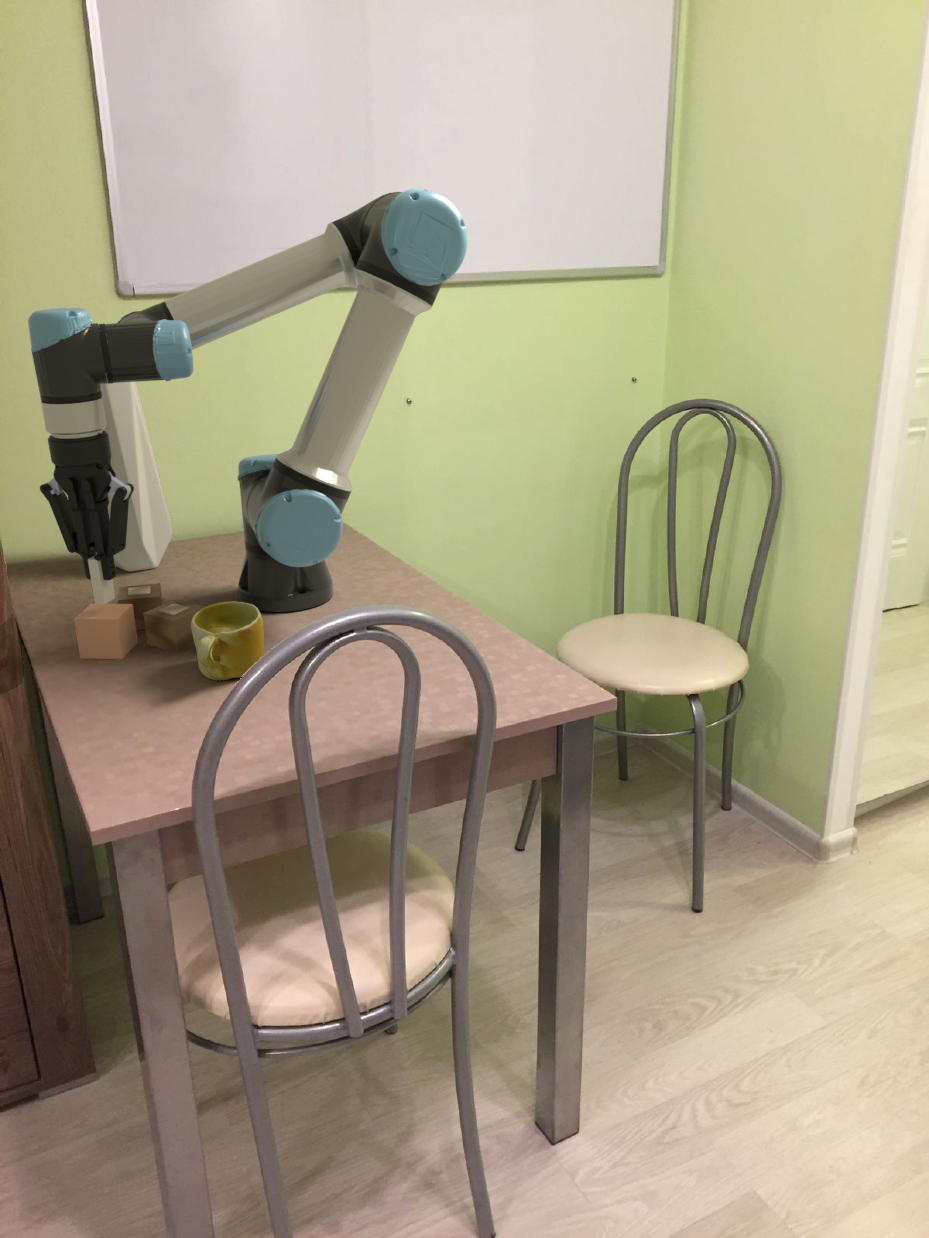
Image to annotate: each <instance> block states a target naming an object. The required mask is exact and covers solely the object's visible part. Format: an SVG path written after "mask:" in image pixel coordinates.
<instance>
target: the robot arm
mask: <svg viewBox="0 0 929 1238" xmlns="http://www.w3.org/2000/svg"><path fill="white" fill-rule="evenodd" d="M467 249H468V232H467V226H466V224H465V220H464V219H463V216H462V214H461V213H460V210H458V208H457V206H456V205H454V203H453V202H452V201H450V200H449V199H448V198H447V197H446V196H443V195H441V194H439V193H437V192H433V191H430V190H427V189H425V188H424V189H422V188H410V189H407V190H404V191H395V192H388V193H386V194H382V195H381V196H379V197H376V198H375V199H373V200H372V201H369V202H368V203H366V204H365V205H363V206H361V207H360V208H358V209H356V210H354V211H352V212H351V213H349V214H347V215H344V216H342V217H341V218H340V217H339V218H338V219H335V220H334V221H331V222H329V223H328V224H327V225H326V228H325V231H324V232H323V233H322V234H320V235H318V236H315V237H312V238H311V239H307V240H306V241H304V242H301V243H298V244H296V245H294V246H291V247H289V248H286V249H285V250H282V251H280V252H278V253H275V254H273V255H270V256H267V257H265V258H263V259H261V260H259V261H256V262H253V263H251V264H249V265H247V266H245V267H241V268H238V269H237V270H235V271H232V272H229V273H227V274H226V275H222V276H220V277H218V278H216V279H213V280H211V281H208V282H206V283H204V284H201V285H199V286H197V287H194V288H192V289H190V290H187V291H184V292H182V293H180V294H177V295H176V296H173V297H171V298H169V299H165V300H164V301H163V302H160V303H157V304H155V305H152V306H150V307H147V308H145V309H142V310H134V311H131V312H129V313H127V314H125V315H123V316H121V318H120V319H119V321H117V322H113V323H98V322H97V323H95V322H93V319H92V318H91V315H90V312H89V310H87V309H85V308H83V307H80V308H79V307H72V308H67V307H66V308H65V307H64V308H47V309H40V310H35V311H33V312H32V313H31V314H30V316H29V317H28V320H27V324H28V331H29V339H30V346H31V347H30V350H31V355H32V360H33V365H34V370H35V375H36V380H37V386H38V391H39V395H40V400H41V401H40V404H41V409H42V417H43V422H44V428H45V432H47V433H48V434H50V435H49V436H48V438H47V443H48V448H49V454H50V460H51V462H52V464H53V465H54V471H53V473H52V474H53V475H52V476H53V478H52V479H50V480H49V481H48V482H45V483H43V484H41V485H40V486H39V491H40V493H41V494H42V495H43V496H44V497H45V499H46V500H47V501H48V503H49V506H50V509H51V511H52V513H53V516H54V518H55V521H56V523H57V526H58V529H59V531H60V534H61V536H62V539H63V542H64V544H65V547H66V548H67V551H68V553H71V554H74V553H75V554H77V555H79V556H80V557H81V558H82V560H83V561H82V562H83V567H84V573H85V577H86V579H88V580H90V582H91V586H92V587H91V588H92V593H93V597H94V598H93V599H94V603H95V604H104V605H105V604H109V602H111V601H113V600H114V599H116V595H115V587H114V586H115V585H114V581H113V579H114V578H116V576H117V571H116V566H115V563H114V555H115V554H117V553H119V552H120V551H122V550H124V549H125V547H126V534H127V520H128V507H129V499H130V497H131V495H132V493H133V491H134V486H133V485H132V484H130V483H128V484H124V483H123V482H121V481H120V480H118V479H117V478H116V474H115V472H114V470H113V469H112V466H111V449H110V442H109V436H108V433H106V431H104V430H102V429H104V428H105V427H106V418H105V412H104V405H103V398H102V391H101V384H107V382H108V384H112V383H119V382H136V383H139V382H153V381H154V382H155V381H165V382H171V381H172V380H179V379H186V378H189V377H191V376H192V374H193V372H194V358H193V350H195V349H198V348H200V347H202V346H204V345H207V344H210V343H212V342H214V341H217V340H219V339H221V338H224V337H227V336H229V335H230V334H233V333H236V332H237V331H240V330H243V329H245V328H247V327H250V326H252V325H254V324H257V323H259V322H261V321H263V320H266V319H268V318H270V317H273V316H276V315H278V314H280V313H282V312H285V311H287V310H290V309H292V308H294V307H296V306H299V305H301V304H303V303H306V302H309V301H311V300H312V299H315V298H318V297H320V296H322V295H325V294H327V293H330V292H332V291H333V290H337V289H338V288H341V287H344V286H348V287H350V288H351V289H352V288H353V289H357V288H358V290H357V293H356V295H355V297H354V299H353V302H352V304H351V306H350V308H349V311H348V314H347V316H346V318H345V321H344V323H343V326H342V328H341V330H340V333H339V336H338V338H337V341H336V343H335V344H334V346H333V350H332V352H331V354H330V357H329V358H328V361H327V364H326V366H325V368H324V370H323V373H322V375H321V378H320V380H319V382H318V385H317V387H316V390H315V392H314V395H313V397H312V399H311V401H310V403H309V405H308V408H307V411H306V414H305V416H304V418H303V421H302V424H301V425H300V427H299V430H298V433H297V435H296V437H295V440H294V442H293V445H292V447H290V448H289V449H288V450H285V451H283V452H280V453H272V454H262V455H254V456H249V457H245V458H243V459H241V460H240V461H239V462H238V468H237V469H238V475H237V481H239V489H240V490H239V491H240V493H239V494H240V503H241V514H242V515H241V516H242V527H243V536H244V537H243V538H244V548H245V555H244V559H243V564H242V567H241V571H240V575H239V579H238V584H237V593H238V594H237V597H238V602H244V603H249V604H252V605H254V606H256V607H257V608H258V610H259V612H260V611H261V612H267V613H270V612H272V613H278V612H279V613H286V612H287V613H288V612H297V611H303V610H307V609H311V608H315V607H318V606H320V605H322V604H324V603H327V602H328V601H329V600H330V599H332V598H333V595H334V584H333V583H334V581H333V578H332V575H331V573H330V570H329V567H328V565H327V564H326V559H327V558H328V557H330V555H332V554H333V552H335V550H336V549H337V548H338V546H339V544H340V542H341V540H342V539H341V538H342V536H343V531H344V530H343V529H344V527H343V526H344V521H343V515H342V514H343V511H344V510H345V508H346V505H347V502H348V500H349V498H350V495H351V493H352V490H353V485H352V482H351V480H350V477H349V471H350V469H351V467H352V464H353V463H354V460H355V457H356V455H357V452H358V450H359V448H360V446H361V443H362V441H363V439H364V437H365V434H366V433H367V430H368V428H369V425H370V423H371V420H372V418H373V416H374V414H375V411H376V409H377V406H378V405H379V402H380V400H381V398H382V396H383V393H384V391H385V389H386V386H387V384H388V381H389V379H390V376H391V374H392V373H393V370H394V367H395V365H396V363H397V361H398V359H399V356H400V354H401V351H402V349H403V347H404V344H405V343H406V340H407V338H408V336H409V333H410V331H411V328H412V327H413V324H414V321H415V320H416V317H417V316H418V315H421V314H422V313H425V312H427V311H429V310H431V309H432V308H433V305H434V303H435V302H436V299H437V296H438V294H439V292H440V290H441V288H442V285H443V283H445V282H446V281H448V280H449V279H451V278H452V277H453V275H455V274H456V272H458V270H459V269H460V268H461V265H463V262H464V259H465V257H466V253H467ZM110 489H112V492H111V496H112V497H113V498H112V502H111V511H110V519H109V513H108V504H109V499H108V493H109V491H110Z"/></svg>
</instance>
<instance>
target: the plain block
mask: <svg viewBox="0 0 929 1238" xmlns="http://www.w3.org/2000/svg"><path fill="white" fill-rule="evenodd" d="M73 622H74V625H75V626H74V627H75V634H76V639H77V644H78V645H77V646H78V653H79V657H80V659H94V660H95V659H97V660H98V659H100V660H101V659H104V660H105V659H106V660H108V659H109V660H116V659H117V660H123V659H124V658H125V657H126V656H127V655H128V654H129V652H130V651H131V650H133V648H134V647H135V646H136V645H137V644H138V641H139V640H138V635H137V634H138V633H137V629H136V625H135V618H134V610H133V604H118V603H106V604H105V605H104V604H95V602H94V603H90V604H89V605H88V606H86V608H85V609H83V610H82V611H81V612H80V613H79V614H77V615H76V616H75V617H74V619H73Z"/></svg>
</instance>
